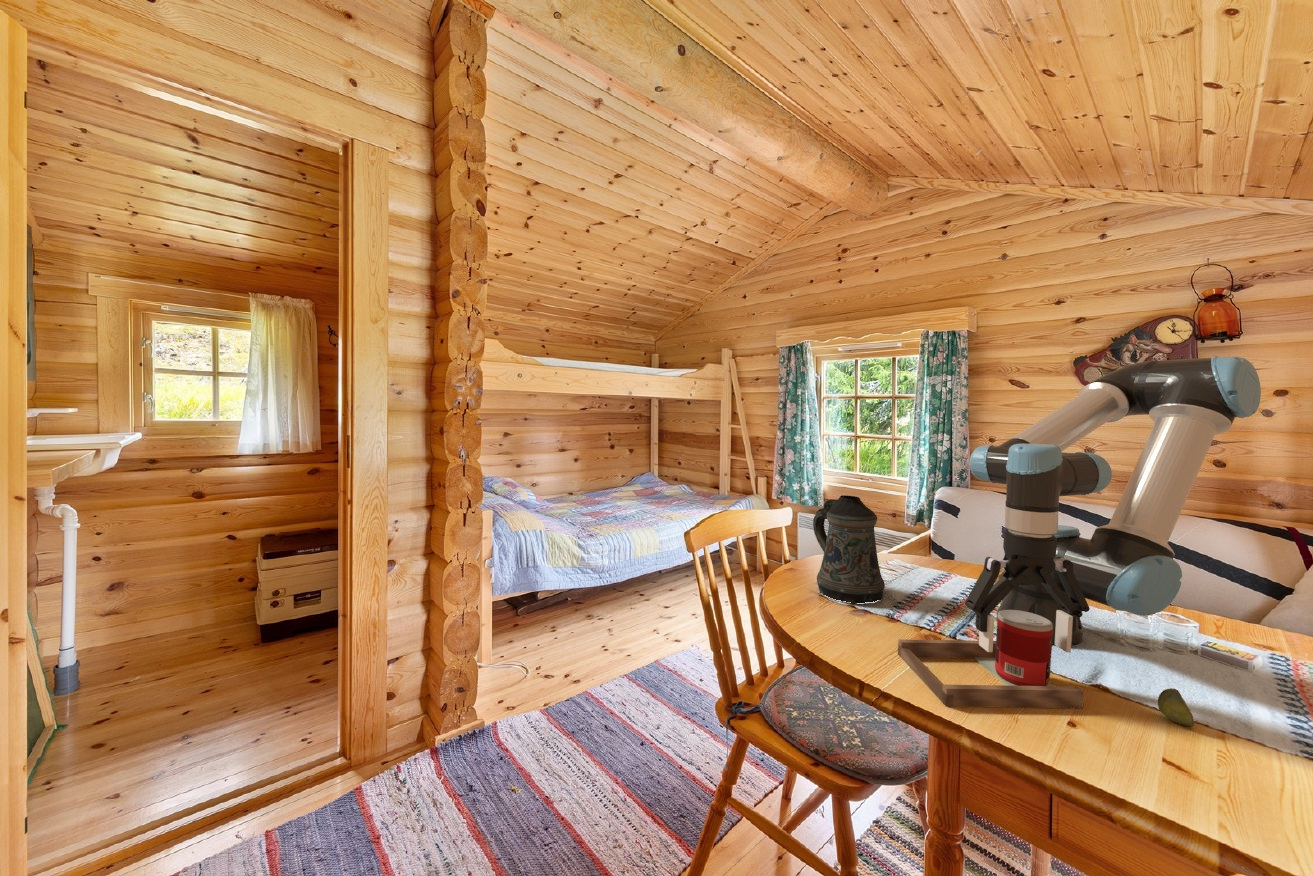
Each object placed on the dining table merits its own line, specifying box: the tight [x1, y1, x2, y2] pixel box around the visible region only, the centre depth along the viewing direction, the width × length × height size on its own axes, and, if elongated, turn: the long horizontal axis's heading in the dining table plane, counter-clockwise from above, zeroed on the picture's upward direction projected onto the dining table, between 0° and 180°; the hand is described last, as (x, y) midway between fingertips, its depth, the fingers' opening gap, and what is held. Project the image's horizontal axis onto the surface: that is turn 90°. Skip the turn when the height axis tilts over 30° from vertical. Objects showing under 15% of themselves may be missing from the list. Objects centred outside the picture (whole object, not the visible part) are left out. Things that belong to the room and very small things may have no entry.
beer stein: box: [812, 494, 886, 603], centre depth 131 cm, size 16×19×25 cm
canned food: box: [995, 610, 1053, 686], centre depth 90 cm, size 8×8×11 cm
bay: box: [897, 638, 1085, 710], centre depth 90 cm, size 22×17×3 cm
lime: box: [1157, 688, 1195, 727], centre depth 79 cm, size 4×5×5 cm
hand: (1024, 648), depth 90 cm, fingers open, 13 cm apart
